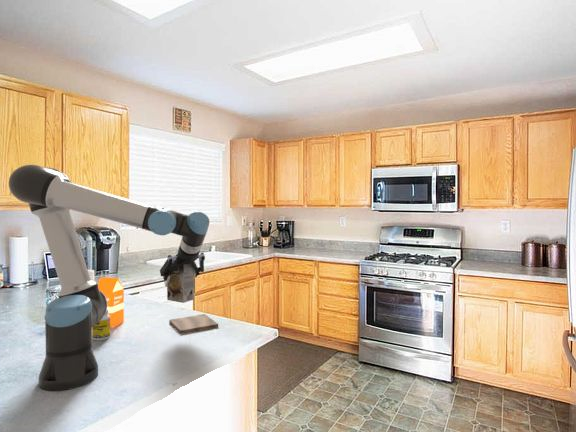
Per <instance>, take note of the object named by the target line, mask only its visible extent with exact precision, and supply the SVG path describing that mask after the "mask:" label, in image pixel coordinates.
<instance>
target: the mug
mask: <svg viewBox="0 0 576 432" xmlns="http://www.w3.org/2000/svg"><path fill="white" fill-rule="evenodd" d="M88 273H89V276H90V279H91V280H93V281H95V270H94V269H88Z"/></svg>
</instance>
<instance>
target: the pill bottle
mask: <svg viewBox="0 0 576 432" xmlns="http://www.w3.org/2000/svg"><path fill="white" fill-rule="evenodd" d="M107 313H108V309H107V310H106V312H105V314H104V316H103V318H102V319H101V320H100V321H99V322H98V323H96V325H95V326H94V327H93V328H92V340H93V341H105V340H107V339H109V338H110V337H111V327H110V315H109V314H107Z"/></svg>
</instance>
